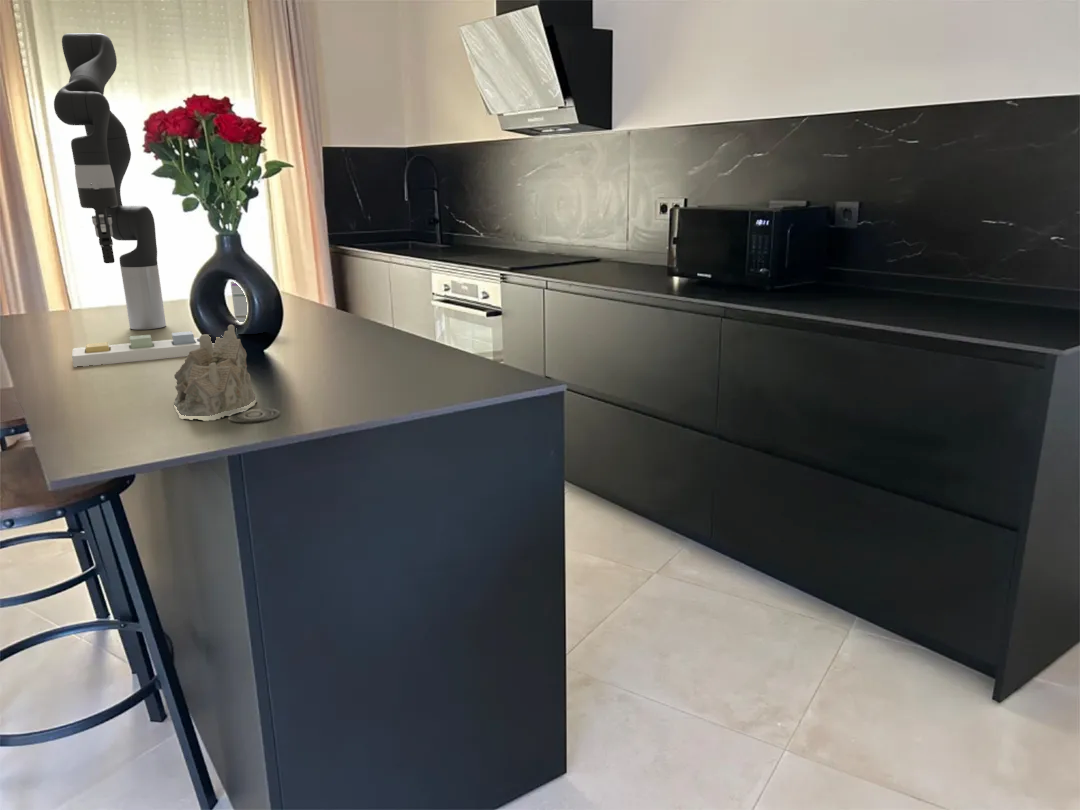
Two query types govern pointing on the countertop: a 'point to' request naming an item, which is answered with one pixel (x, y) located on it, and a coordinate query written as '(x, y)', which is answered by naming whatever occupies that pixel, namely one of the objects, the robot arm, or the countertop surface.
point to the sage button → (141, 341)
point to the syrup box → (239, 302)
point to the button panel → (133, 353)
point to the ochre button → (97, 347)
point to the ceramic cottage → (214, 377)
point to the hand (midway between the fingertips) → (109, 262)
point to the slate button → (183, 338)
